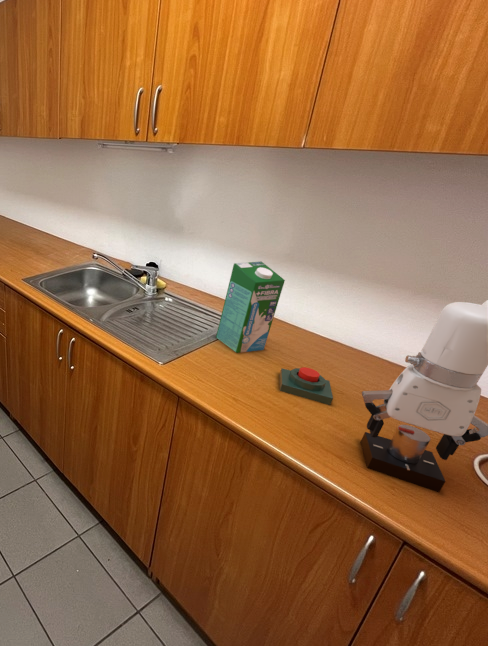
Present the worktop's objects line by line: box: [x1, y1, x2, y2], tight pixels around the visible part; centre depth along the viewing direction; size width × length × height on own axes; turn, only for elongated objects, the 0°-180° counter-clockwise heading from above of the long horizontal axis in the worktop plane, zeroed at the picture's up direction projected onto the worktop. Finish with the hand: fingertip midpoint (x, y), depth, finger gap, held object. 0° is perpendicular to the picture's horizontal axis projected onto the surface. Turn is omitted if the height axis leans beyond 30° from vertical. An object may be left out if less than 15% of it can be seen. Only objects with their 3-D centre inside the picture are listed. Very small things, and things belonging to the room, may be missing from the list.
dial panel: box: [359, 431, 446, 493], centre depth 78 cm, size 10×9×3 cm
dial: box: [387, 424, 431, 464], centre depth 76 cm, size 4×4×6 cm
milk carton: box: [215, 261, 286, 354], centre depth 115 cm, size 9×9×25 cm
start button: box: [298, 366, 321, 382], centre depth 98 cm, size 4×4×2 cm
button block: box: [278, 367, 334, 406], centre depth 99 cm, size 10×8×4 cm
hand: (405, 443), depth 76 cm, fingers open, 9 cm apart
